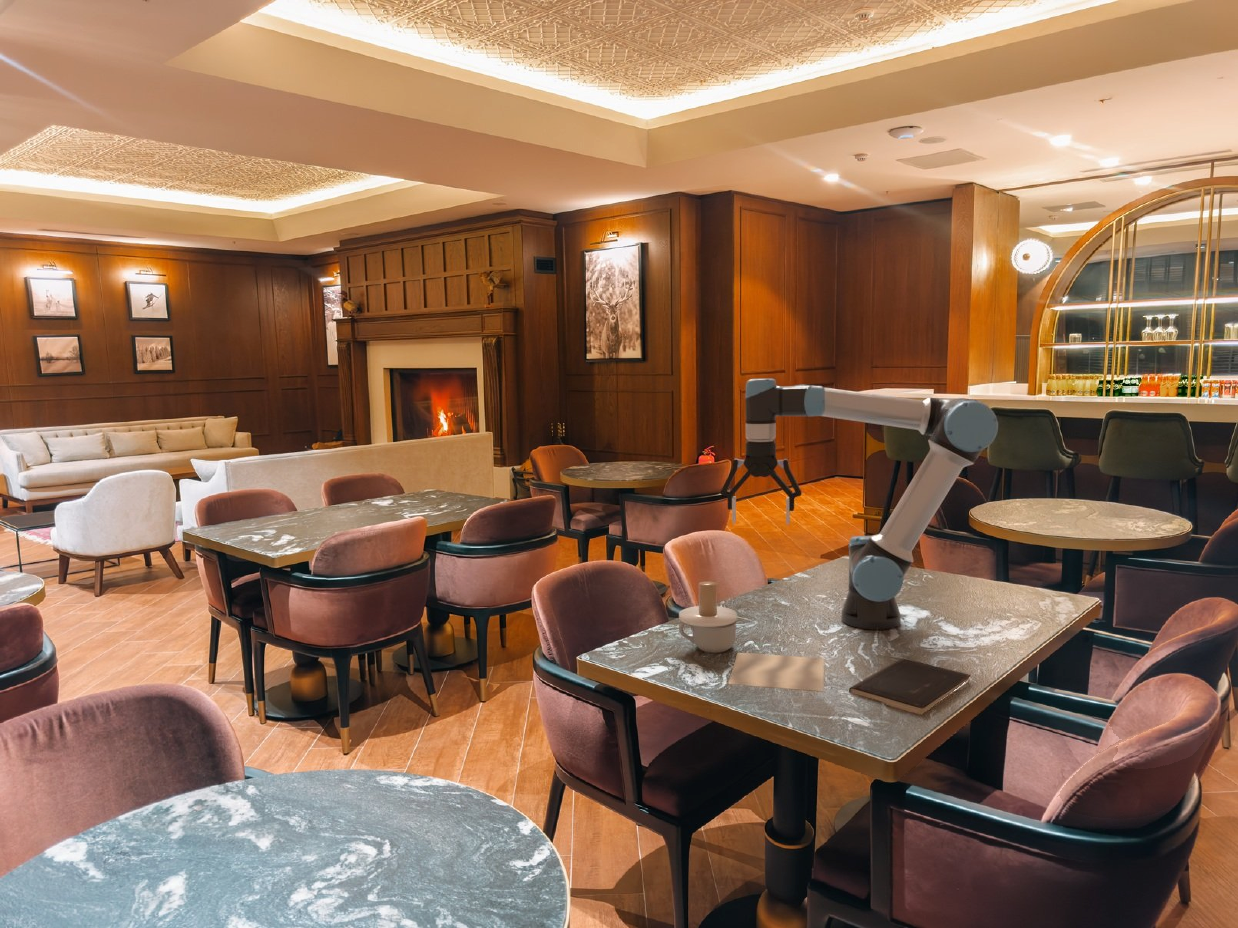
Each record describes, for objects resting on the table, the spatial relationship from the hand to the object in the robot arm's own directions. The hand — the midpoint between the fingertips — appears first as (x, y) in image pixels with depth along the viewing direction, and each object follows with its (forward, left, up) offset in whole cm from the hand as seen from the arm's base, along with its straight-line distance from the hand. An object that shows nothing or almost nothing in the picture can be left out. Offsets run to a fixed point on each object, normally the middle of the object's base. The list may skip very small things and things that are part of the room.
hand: (760, 523), depth 210 cm
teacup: (+12, +16, -29) cm, 35 cm away
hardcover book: (-34, +32, -29) cm, 55 cm away
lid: (+11, +16, -21) cm, 29 cm away
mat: (-6, +28, -29) cm, 40 cm away
